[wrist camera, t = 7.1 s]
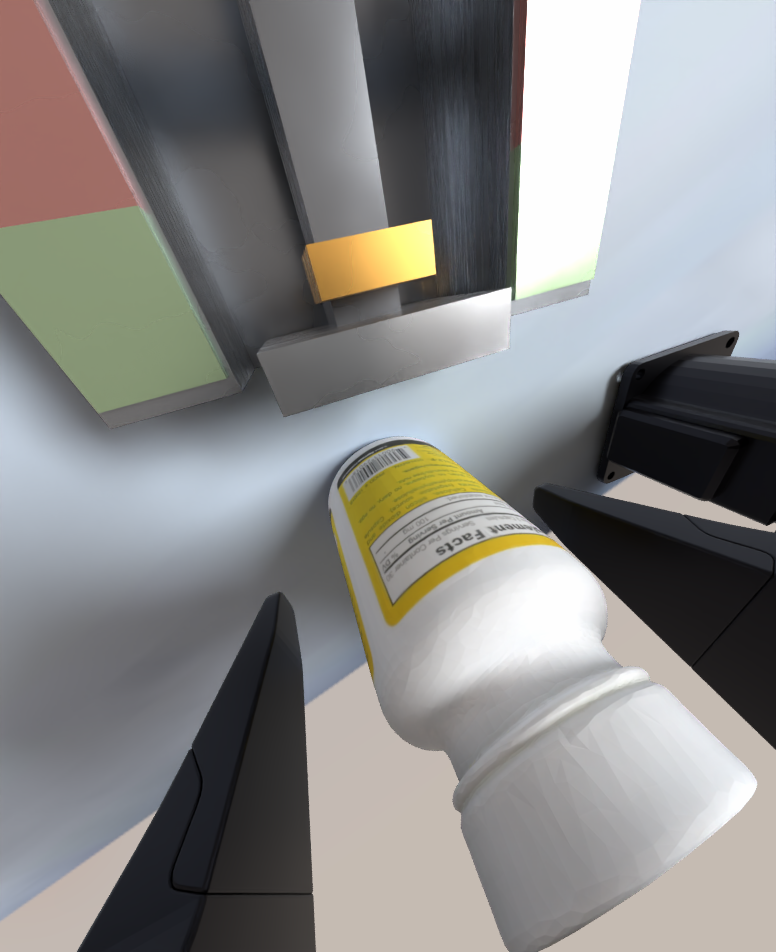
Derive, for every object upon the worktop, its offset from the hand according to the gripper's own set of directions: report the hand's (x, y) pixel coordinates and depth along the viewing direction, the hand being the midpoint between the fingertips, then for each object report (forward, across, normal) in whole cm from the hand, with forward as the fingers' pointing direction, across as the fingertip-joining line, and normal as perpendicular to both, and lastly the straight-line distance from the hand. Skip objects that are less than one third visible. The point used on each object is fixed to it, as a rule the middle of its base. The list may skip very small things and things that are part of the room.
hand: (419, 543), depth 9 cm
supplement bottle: (+3, 0, 0) cm, 3 cm away
